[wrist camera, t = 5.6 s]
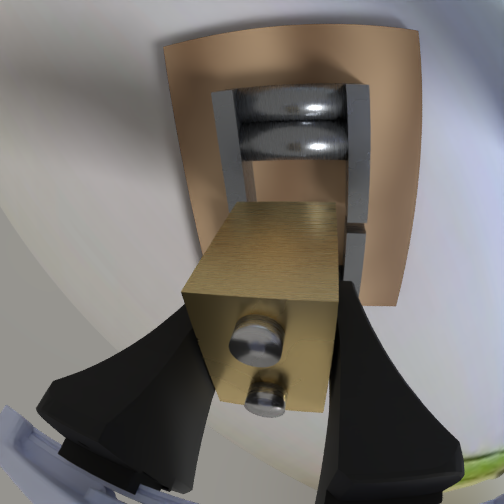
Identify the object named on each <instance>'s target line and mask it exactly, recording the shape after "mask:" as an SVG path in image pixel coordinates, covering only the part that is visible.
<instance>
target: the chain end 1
mask: <svg viewBox="0 0 504 504" xmlns="http://www.w3.org/2000/svg"><path fill="white" fill-rule="evenodd" d="M211 97H212V104H213V111H214V118H215V125H216V131H217V138H218V144H219V151H220V158H221V164H222V171H223V177H224V183H225V190H226V196H227V202H228V208H229V213H230V212H231V210H232V209H233V207H234V206H235V204H236V203H237V202H257V197H256V189H255V180H254V172H253V163H252V161H271V160H346V194H345V208H346V216H347V223H367V219H368V204H369V186H370V154H371V119H370V88H369V85H367V84H363V83H307V84H283V85H269V86H257V87H247V88H243V87H242V88H234V89H226V90H220V91H216V92H212V93H211Z"/></svg>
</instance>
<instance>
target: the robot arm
mask: <svg viewBox="0 0 504 504" xmlns="http://www.w3.org/2000/svg"><path fill="white" fill-rule="evenodd" d="M214 392H215V387H214V384H213V382H212V379H211V376H210V374H209V371H208V368H207V366H206V363H205V360H204V358H203V355H202V352H201V349H200V347H199V344H198V341H197V338H196V335H195V332H194V329H193V327H192V324H191V321H190V318H189V315H188V312H187V309H186V306H185V304H184V305H183V306H182V307H181V308H180V309H179V310H178V311H176V312H175V313H174V314H173V315H171V316H170V317H169V318H168V319H167V320H165V321H164V322H163V323H162V324H161V325H159V326H158V327H157V328H156V329H154V330H153V331H152V332H150V333H149V334H147V335H146V336H145V337H143V338H142V339H140V340H139V341H137V342H136V343H134V344H133V345H131V346H129V347H128V348H126V349H124V350H122V351H121V352H119V353H117V354H115V355H114V356H112V357H110V358H108V359H106V360H104V361H102V362H100V363H98V364H96V365H94V366H92V367H90V368H87V369H85V370H83V371H80V372H78V373H75V374H72V375H69V376H67V377H64V378H61V379H58V380H55V381H53V382H52V384H51V385H50V387H49V388H48V390H47V392H46V393H45V395H44V396H43V398H42V399H41V401H40V403H39V404H38V406H37V407H36V410H37V412H38V414H39V415H40V416H41V417H42V418H43V419H44V420H45V421H46V422H47V423H49V424H50V425H51V426H52V427H53V428H54V429H56V430H57V431H58V432H59V433H60V434H62V435H63V436H64V437H65V438H66V439H65V441H64V442H63V445H61V444H59V443H58V442H56V441H55V440H53V439H51V438H50V437H48V436H47V435H45V434H44V433H42V432H41V431H39V430H38V429H36V428H35V427H33V425H32V424H31V423H30V422H29V421H27V420H26V419H25V418H24V417H23V416H21V415H20V414H19V413H17V412H16V411H14V410H13V409H12V408H11V407H10V406H8V405H5V407H4V409H3V411H2V412H1V413H0V466H1V468H2V469H3V470H4V471H5V472H6V473H7V475H8V476H9V477H10V478H11V480H12V481H13V482H14V483H15V484H16V485H17V487H18V488H19V489H20V490H21V491H22V492H23V493H24V494H25V496H26V497H27V498H28V499H29V500H30V501H31V502H32V503H33V504H127V503H124V502H122V501H120V500H118V499H117V498H116V496H115V493H114V491H116V492H118V493H120V494H122V495H124V496H126V497H128V498H131V499H133V500H135V501H138V502H140V503H142V504H198V503H195V502H191V501H188V500H185V499H181V498H178V497H175V496H172V495H169V494H166V493H163V492H160V490H161V489H163V490H166V491H169V492H170V491H171V490H172V491H175V492H179V493H182V494H185V493H187V492H190V491H191V490H192V488H193V482H194V476H195V470H196V465H197V460H198V455H199V450H200V446H201V441H202V437H203V433H204V428H205V424H206V420H207V416H208V413H209V409H210V405H211V401H212V398H213V395H214ZM463 476H464V460H463V455H462V451H461V446H460V442H459V441H458V440H457V439H456V438H455V437H454V436H453V435H452V434H451V433H450V432H449V431H448V430H447V429H446V428H445V427H444V426H443V425H442V424H441V423H440V422H439V421H438V420H437V419H436V418H435V417H434V416H433V415H432V413H431V412H430V411H429V410H428V409H427V408H426V407H425V406H424V404H423V403H422V402H421V401H420V399H419V398H418V397H417V396H416V394H415V393H414V392H413V391H412V389H411V388H410V387H409V386H408V384H407V383H406V382H405V380H404V379H403V377H402V376H401V374H400V373H399V372H398V370H397V369H396V367H395V366H394V364H393V363H392V361H391V360H390V358H389V356H388V355H387V353H386V351H385V350H384V348H383V346H382V344H381V343H380V341H379V339H378V337H377V335H376V334H375V332H374V330H373V328H372V326H371V324H370V322H369V320H368V318H367V316H366V313H365V311H364V309H363V307H362V304H361V302H360V300H359V297H358V294H357V292H356V289H355V285H354V283H353V282H352V281H339V303H338V313H337V322H336V331H335V339H334V347H333V354H332V361H331V368H330V375H329V417H328V426H327V434H326V442H325V449H324V456H323V462H322V469H321V475H320V480H319V486H318V491H317V496H316V501H315V504H440V503H441V502H442V491H444V490H445V489H447V488H449V487H451V486H452V485H454V484H456V483H457V482H459V481H460V480H461V479H462V478H463ZM480 504H504V494H502V495H500V496H498V497H497V498H495V499H494V500H490V501H487V502H484V503H480Z"/></svg>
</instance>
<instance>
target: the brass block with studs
mask: <svg viewBox="0 0 504 504" xmlns="http://www.w3.org/2000/svg"><path fill="white" fill-rule="evenodd" d="M181 293H182V296H183V299H184V303H185V306H186V309H187V312H188V315H189V318H190V321H191V324H192V327H193V329H194V332H195V335H196V338H197V341H198V344H199V347H200V349H201V352H202V355H203V358H204V360H205V363H206V366H207V368H208V371H209V374H210V376H211V379H212V382H213V384H214V387H215V389H216V392H217V394H218V397H219V399H220V401H223V402H229V403H235V404H241V405H244V406H245V408H246V409H247V410H248V411H249V412H251V413H253V414H255V415H258V416H262V417H269V418H273V417H279V416H281V415H283V414H284V412H285V410H291V411H304V412H319V413H323V411H324V405H325V399H326V393H327V387H328V381H329V375H330V368H331V361H332V354H333V347H334V339H335V331H336V322H337V313H338V303H339V276H338V238H337V216H336V202H237V203H236V204H235V206H234V207H233V209H232V210H231V212H230V213H229V215H228V217H227V218H226V220H225V221H224V223H223V224H222V226H221V228H220V229H219V231H218V232H217V234H216V236H215V237H214V239H213V240H212V242H211V244H210V245H209V247H208V248H207V250H206V252H205V253H204V255H203V257H202V258H201V260H200V261H199V263H198V265H197V266H196V268H195V270H194V271H193V273H192V274H191V276H190V278H189V279H188V281H187V283H186V284H185V286H184V288H183V289H182V291H181Z"/></svg>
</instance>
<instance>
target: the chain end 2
mask: <svg viewBox="0 0 504 504" xmlns="http://www.w3.org/2000/svg"><path fill="white" fill-rule="evenodd" d="M365 242H366V230H365V225H364V223H347V216H346V215H345V226H344V246H343V262H342V265H338V276H339V281H352V282H353V283H354V285H355V289H356V292H357V294H358V297H359V293H360V286H361V278H362V270H363V261H364V252H365Z"/></svg>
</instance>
